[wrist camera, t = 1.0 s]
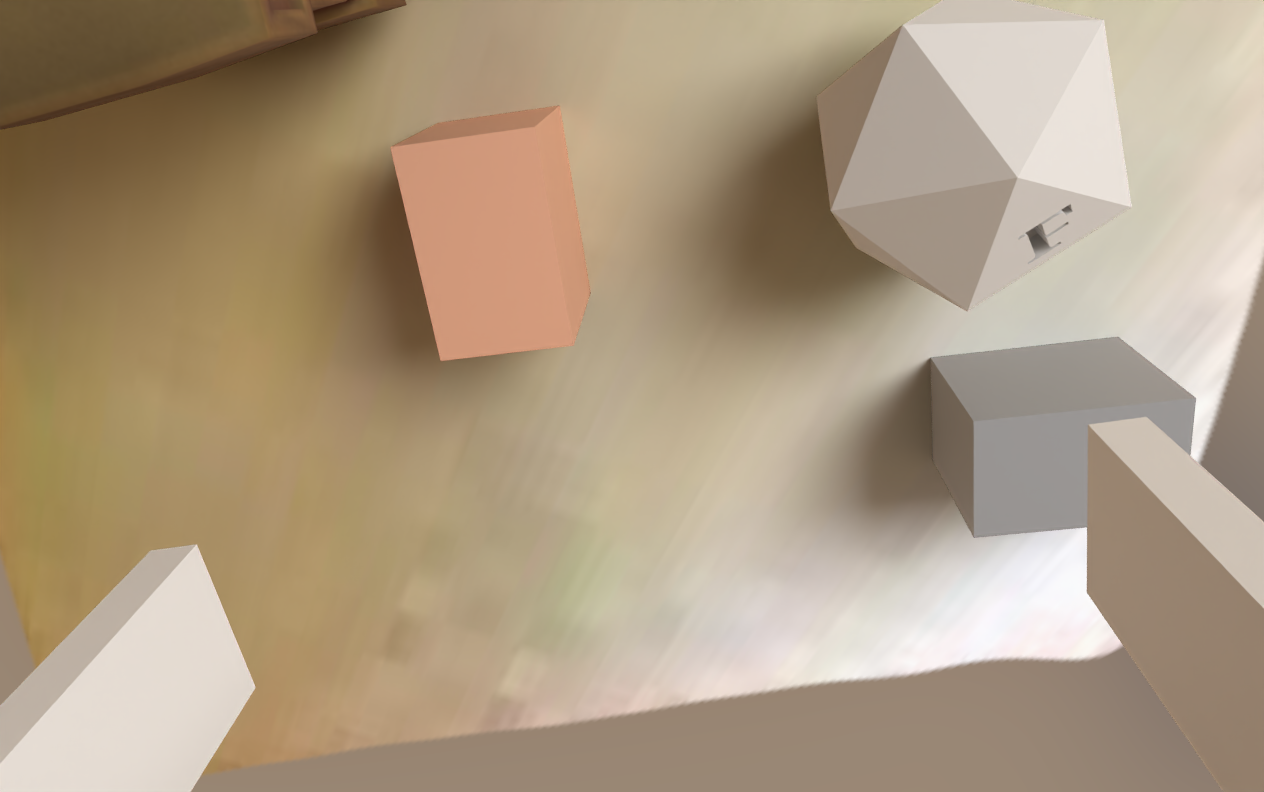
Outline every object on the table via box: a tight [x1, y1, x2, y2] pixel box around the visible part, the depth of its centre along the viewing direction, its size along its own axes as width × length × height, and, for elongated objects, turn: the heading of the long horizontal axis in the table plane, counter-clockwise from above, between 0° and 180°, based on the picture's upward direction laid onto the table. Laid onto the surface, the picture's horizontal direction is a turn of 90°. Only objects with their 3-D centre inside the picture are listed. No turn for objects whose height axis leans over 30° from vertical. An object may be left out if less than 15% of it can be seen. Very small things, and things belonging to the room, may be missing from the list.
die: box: [816, 0, 1132, 312], centre depth 28 cm, size 8×9×10 cm
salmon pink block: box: [390, 106, 591, 361], centre depth 32 cm, size 7×4×6 cm, turn 8°
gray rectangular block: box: [930, 337, 1196, 538], centre depth 34 cm, size 4×7×6 cm, turn 98°
